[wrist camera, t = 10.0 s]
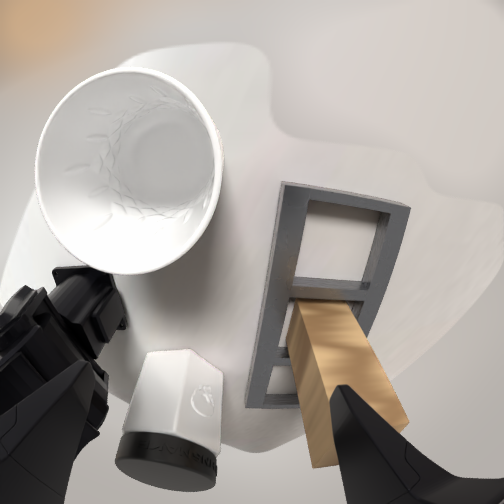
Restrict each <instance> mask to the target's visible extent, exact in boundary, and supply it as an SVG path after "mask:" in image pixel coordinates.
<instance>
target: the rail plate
mask: <svg viewBox="0 0 504 504" xmlns="http://www.w3.org/2000/svg"><path fill="white" fill-rule="evenodd" d="M309 199H310V200H316V201H323V202H329V203H336V204H342V205H348V206H354V207H359V208H365V209H371V210H376V211H381V214H380V218H379V222H378V226H377V230H376V234H375V238H374V241H373V245H372V249H371V252H370V256H369V259H368V262H367V266H366V269H365V272H364V276H363V279H362V281H347V280H333V279H319V278H306V277H294V275H295V270H296V265H297V260H298V255H299V250H300V245H301V240H302V235H303V230H304V225H305V219H306V214H307V208H308V203H309ZM410 209H411V207H409V206H407V205H405V204H403V203H400V202H396V201H391V200H387V199H382V198H377V197H372V196H367V195H362V194H357V193H352V192H347V191H341V190H336V189H330V188H324V187H318V186H312V185H305V184H298V183H292V182H284V181H282V182H281V188H280V195H279V202H278V208H277V215H276V221H275V228H274V234H273V240H272V246H271V253H270V259H269V265H268V271H267V277H266V283H265V289H264V295H263V301H262V307H261V313H260V318H259V324H258V330H257V335H256V341H255V347H254V352H253V358H252V363H251V369H250V374H249V379H248V385H247V390H246V395H245V408H267V409H280V408H300V403H299V398H298V394H288V395H273V394H266V391H267V387H268V383H269V380H270V376H271V372H272V368H273V365H282V366H292V365H291V360H290V356H289V351H288V347H278V344H279V340H280V336H281V332H282V328H283V324H284V319H285V315H286V311H287V306H288V302H289V298H290V297H297V298H313V299H333V300H355V303H354V306H353V309H352V311H351V312H352V313H353V315H354V317H355V319H356V320H357V322H358V324H359V326H360V327H361V329H362V331H363V333H364V335H365V336H366V338H367V336H368V334H369V331H370V329H371V327H372V324H373V322H374V320H375V317H376V315H377V312H378V310H379V307H380V305H381V302H382V299H383V297H384V294H385V291H386V289H387V286H388V283H389V280H390V277H391V274H392V271H393V268H394V265H395V262H396V259H397V256H398V253H399V250H400V246H401V243H402V239H403V236H404V232H405V229H406V225H407V221H408V217H409V214H410Z"/></svg>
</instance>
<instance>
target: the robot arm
mask: <svg viewBox="0 0 504 504" xmlns="http://www.w3.org/2000/svg"><path fill="white" fill-rule="evenodd" d="M56 272H57V273H58V274H57V273H56ZM52 274H53V277H54V280H55V283H56V288H55V289H54V290H53V291H52V292H51V293H50V294H49V295H47V291H46V290H45V288H44V287H42V288H40V289H38V290H34V289H31V288H29V287H28V286H26V285H25V286H23V287H22V288H20V289H19V290H18V291H17V292H16V293H15V294H14V295H13V296H12V297H11V298H10V299H9V300H8V302H7V303H6V304H5V306H4V307H3V309H2V311H1V312H0V504H64V500H65V498H64V497H65V494H66V490H67V486H68V481H69V477H70V473H71V469H72V466H73V462H74V460H75V459H76V457H77V455H78V454H79V453H80V451H81V450H82V449H83V448H84V447H85V446H86V445H87V444H88V443H89V442H90V441H91V440H93V439H95V438H96V437H98V436H99V435H100V432H99V431H98V429H99V428H100V426H101V425H102V424H103V422H104V420H105V418H106V415H107V413H108V410H109V406H108V405H107V396H108V379H109V375H108V374H107V373H106V372H105V371H104V370H102V369H101V368H100V366H99V365H98V364H97V363H96V362H95V361H94V359H97V358H98V356H99V354H100V352H101V350H102V348H103V346H104V344H105V343H109V342H110V340H111V338H112V336H113V334H114V332H115V331H116V330H125V329H126V327H127V321H126V318H125V316H124V314H125V312H124V309H123V306H122V303H121V300H120V297H119V294H118V291H117V289H116V288H115V284H114V281H113V277H112V274H110V273H105V272H103V271H100V270H97V269H94V268H92V267H90V266H88V265H86V266H69V267H56V268H54V269H53V271H52ZM121 324H122V325H121ZM329 404H330V413H331V423H332V433H333V439H334V444H335V448H336V453H337V457H338V462H339V466H340V471H341V476H342V481H343V486H344V491H345V496H346V501H347V504H504V478H500V479H478V478H462V477H457V476H454V475H452V474H450V473H449V472H447V471H446V470H444V469H443V468H441V467H440V466H438V465H437V464H436V463H434V462H433V461H431V460H430V459H429V458H427V457H426V456H425V455H423V454H422V453H421V452H420V451H419V450H417V449H416V448H415V447H414V446H413V445H412V444H411V443H409V442H408V441H407V440H406V439H405V438H404V437H403V436H402V435H401V434H400V433H399V432H397V431H396V430H395V429H394V428H393V427H392V426H391V425H390V424H389V423H388V422H387V421H386V420H385V419H384V418H383V417H381V416H380V415H379V414H378V413H377V412H376V411H375V410H374V409H373V408H372V407H371V406H370V405H369V404H368V403H367V402H366V401H365V400H364V399H363V398H361V397H360V396H359V395H358V394H357V393H356V392H355V391H354V390H353V389H352V388H351V387H350V386H349V385H347V384H342V385H337V386H336V387H335V389H334V391H333V393H332V395H331V397H330V400H329Z"/></svg>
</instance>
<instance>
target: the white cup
mask: <svg viewBox="0 0 504 504" xmlns="http://www.w3.org/2000/svg"><path fill="white" fill-rule="evenodd" d="M223 165H224V151H223V144H222V140H221V137H220V134H219V131H218V129H217V127H216V125H215V123H214V121H213V120H212V118H211V117H210V116H209V114H208V113H207V111H206V110H205V108H204V107H203V105H202V104H201V102H200V101H199V100H198V99H197V98H196V96H195V95H194V94H193V93H192V92H191V91H190V90H189V89H187V88H186V87H185V86H184V85H182V84H181V83H180V82H178V81H177V80H175V79H173V78H172V77H170V76H168V75H166V74H163V73H161V72H158V71H155V70H151V69H146V68H138V67H125V68H117V69H112V70H108V71H105V72H102V73H99V74H97V75H94V76H92V77H90V78H89V79H87V80H85V81H84V82H82V83H80V84H79V85H78V86H76V87H75V88H74V89H73V90H71V91H70V92H69V93H68V94H67V95H66V96H65V97H64V98H63V99H62V100H61V102H60V103H59V104H58V105H57V107H56V108H55V109H54V111H53V113H52V114H51V116H50V117H49V119H48V121H47V123H46V125H45V127H44V129H43V132H42V134H41V137H40V140H39V144H38V148H37V153H36V159H35V187H36V193H37V198H38V202H39V206H40V209H41V212H42V214H43V217H44V219H45V221H46V223H47V225H48V227H49V228H50V230H51V232H52V233H53V235H54V236H55V237H56V239H57V240H58V241H59V243H60V244H61V245H62V246H63V247H64V248H65V249H66V250H67V251H68V252H69V253H70V254H72V255H73V256H74V257H75V258H77V259H78V260H80V261H81V262H83V263H84V264H86V265H88V266H90V267H92V268H94V269H97V270H100V271H103V272H106V273H110V274H116V275H140V274H145V273H150V272H153V271H156V270H159V269H161V268H164V267H166V266H168V265H169V264H171V263H173V262H174V261H176V260H177V259H179V258H180V257H182V256H183V255H184V254H185V253H186V252H187V251H189V250H190V249H191V248H192V247H193V245H194V244H195V243H196V242H197V241H198V240H199V238H200V237H201V235H202V234H203V233H204V231H205V229H206V228H207V226H208V224H209V222H210V220H211V218H212V216H213V214H214V211H215V208H216V205H217V202H218V199H219V194H220V189H221V182H222V174H223Z"/></svg>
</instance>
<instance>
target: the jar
mask: <svg viewBox="0 0 504 504" xmlns="http://www.w3.org/2000/svg"><path fill="white" fill-rule="evenodd" d="M223 377H224V374H223V372H221V371H220V370H218V369H217V368H216V367H214V366H213V365H211V364H210V363H209V362H207V361H206V360H205V359H203V358H202V357H201V356H199V355H198V354H197V353H195V352H194V351H193V350H191V349H181V350H170V351H157V352H148V353H147V355H146V358H145V361H144V364H143V366H142V369H141V372H140V375H139V378H138V381H137V384H136V387H135V390H134V393H133V396H132V399H131V402H130V405H129V409H128V412H127V415H126V418H125V421H124V424H123V436H122V437H121V440H120V443H119V447H118V451H117V454H116V458H115V464H116V466H117V467H118V469H119V470H121V471H122V472H123V473H125V474H126V475H128V476H129V477H131V478H133V479H135V480H138V481H140V482H142V483H145V484H148V485H151V486H155V487H158V488H163V489H168V490H174V491H183V492H197V491H204V490H208V489H211V488H213V487H214V486H215V483H216V476H217V465H216V457H217V456H218V455H219V453H220V445H221V419H222V397H223Z"/></svg>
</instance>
